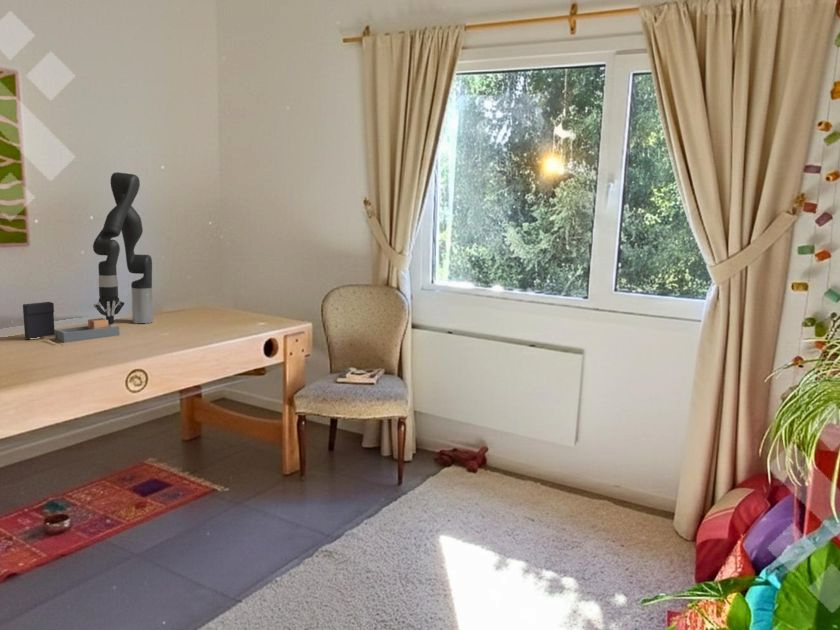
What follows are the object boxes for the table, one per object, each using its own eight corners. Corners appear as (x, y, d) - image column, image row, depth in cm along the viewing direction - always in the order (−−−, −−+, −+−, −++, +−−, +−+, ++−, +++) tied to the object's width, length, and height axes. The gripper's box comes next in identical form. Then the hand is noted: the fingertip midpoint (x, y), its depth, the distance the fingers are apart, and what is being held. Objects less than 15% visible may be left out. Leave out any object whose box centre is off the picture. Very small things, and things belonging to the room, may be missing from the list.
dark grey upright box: (50, 335, 287) (48, 301, 284) (55, 336, 284) (53, 302, 282) (24, 339, 278) (21, 304, 275) (28, 340, 275) (26, 305, 273)
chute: (51, 340, 276) (50, 329, 275) (112, 332, 296) (112, 322, 295) (63, 345, 268) (62, 334, 268) (125, 337, 288) (125, 326, 287)
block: (88, 335, 285) (87, 319, 283) (102, 333, 289) (101, 318, 288) (94, 337, 281) (94, 321, 280) (108, 335, 285) (108, 320, 284)
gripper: (119, 283, 292) (120, 321, 295) (88, 285, 282) (90, 324, 285) (127, 285, 288) (129, 323, 291) (96, 287, 278) (98, 327, 281)
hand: (110, 324), depth 288 cm, fingers closed
